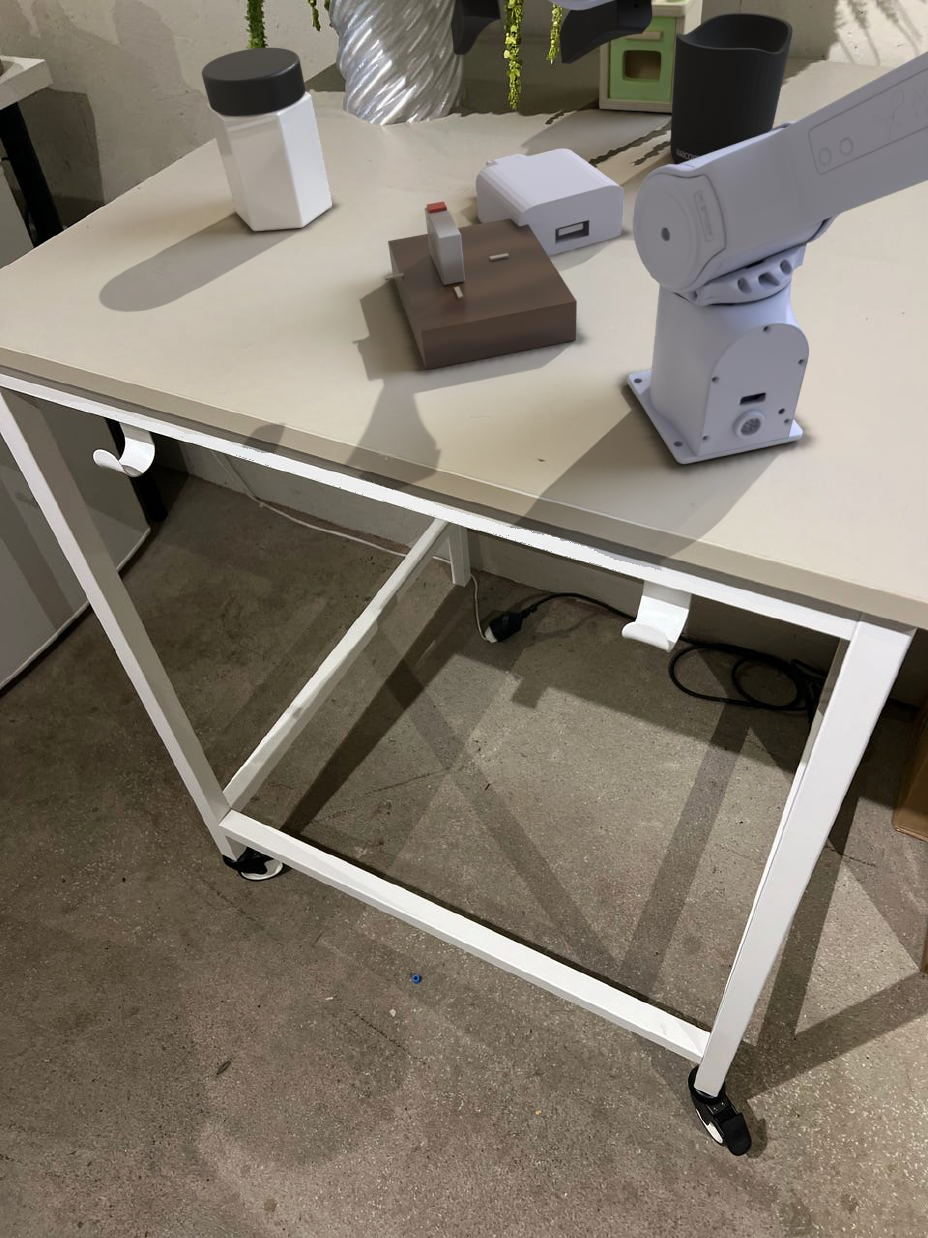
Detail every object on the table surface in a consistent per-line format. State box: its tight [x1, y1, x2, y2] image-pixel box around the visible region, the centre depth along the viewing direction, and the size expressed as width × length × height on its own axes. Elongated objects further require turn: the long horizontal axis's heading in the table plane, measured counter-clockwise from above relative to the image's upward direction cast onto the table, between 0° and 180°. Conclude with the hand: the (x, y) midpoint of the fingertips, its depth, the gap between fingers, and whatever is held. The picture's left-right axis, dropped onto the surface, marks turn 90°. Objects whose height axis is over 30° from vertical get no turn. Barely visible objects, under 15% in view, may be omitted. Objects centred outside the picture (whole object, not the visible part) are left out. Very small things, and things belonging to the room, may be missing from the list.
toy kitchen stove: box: [598, 0, 703, 114], centre depth 85 cm, size 8×7×13 cm
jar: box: [201, 47, 333, 232], centre depth 75 cm, size 9×8×12 cm
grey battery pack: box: [424, 201, 465, 285], centre depth 63 cm, size 5×2×4 cm, turn 13°
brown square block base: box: [384, 218, 578, 370], centre depth 65 cm, size 14×12×3 cm
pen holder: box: [669, 12, 794, 165], centre depth 76 cm, size 9×9×10 cm
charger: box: [475, 148, 625, 257], centre depth 74 cm, size 5×9×15 cm
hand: (512, 43), depth 57 cm, fingers open, 7 cm apart
